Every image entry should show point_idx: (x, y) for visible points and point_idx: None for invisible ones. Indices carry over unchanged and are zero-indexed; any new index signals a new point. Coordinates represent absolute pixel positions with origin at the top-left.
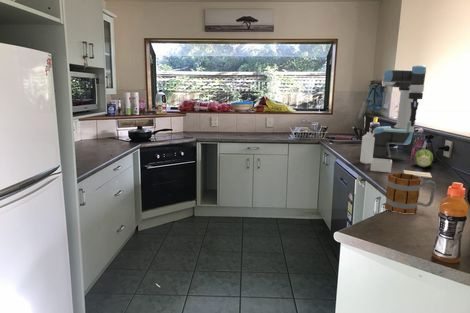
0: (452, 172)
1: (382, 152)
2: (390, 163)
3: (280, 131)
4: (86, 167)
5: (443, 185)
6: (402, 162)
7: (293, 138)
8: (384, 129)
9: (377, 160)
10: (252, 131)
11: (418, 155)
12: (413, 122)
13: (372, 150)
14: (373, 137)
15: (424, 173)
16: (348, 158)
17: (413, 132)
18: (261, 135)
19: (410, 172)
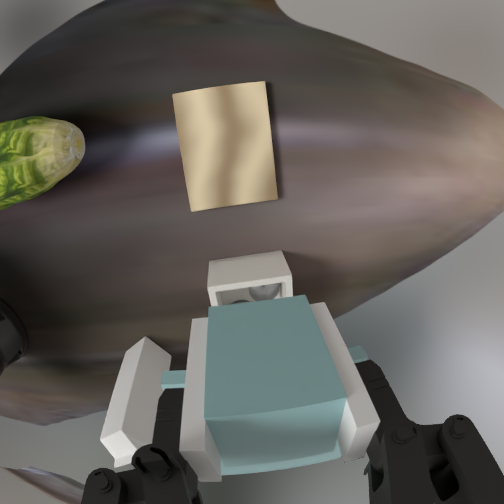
0: (73, 28)
1: (5, 330)
2: (291, 278)
3: (9, 473)
4: None
5: (368, 51)
6: (17, 243)
7: (33, 468)
8: (322, 459)
9: None
10: (55, 499)
11: (36, 185)
12: (396, 406)
13: (137, 382)
14: (127, 434)
15: (202, 115)
16: None
17: (305, 300)
18: (69, 496)
19: (223, 176)
